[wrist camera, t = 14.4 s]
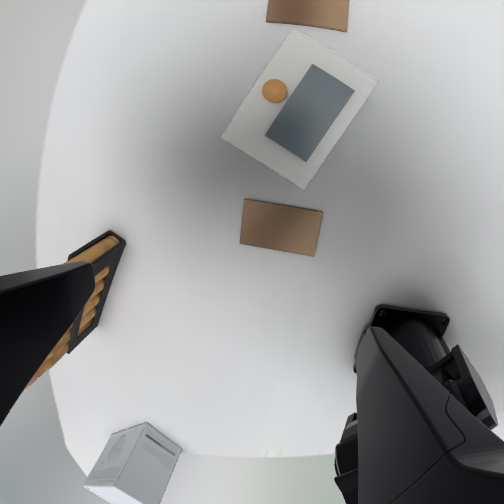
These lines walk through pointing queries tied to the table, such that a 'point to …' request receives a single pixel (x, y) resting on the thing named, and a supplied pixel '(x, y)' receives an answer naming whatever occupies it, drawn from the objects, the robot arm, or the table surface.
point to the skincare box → (134, 467)
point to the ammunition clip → (105, 264)
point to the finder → (299, 108)
